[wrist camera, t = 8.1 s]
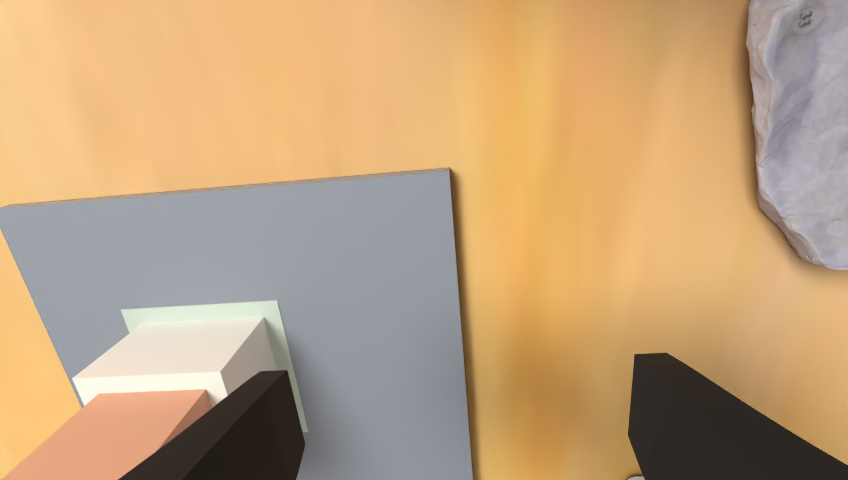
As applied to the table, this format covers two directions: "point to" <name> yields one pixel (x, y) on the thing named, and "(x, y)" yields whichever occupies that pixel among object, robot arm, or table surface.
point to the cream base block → (181, 359)
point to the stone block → (802, 122)
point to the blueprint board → (281, 300)
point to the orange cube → (113, 435)
